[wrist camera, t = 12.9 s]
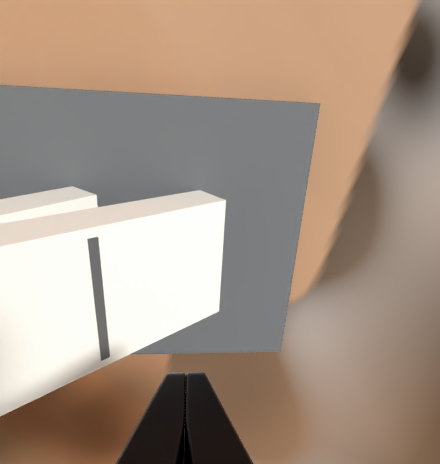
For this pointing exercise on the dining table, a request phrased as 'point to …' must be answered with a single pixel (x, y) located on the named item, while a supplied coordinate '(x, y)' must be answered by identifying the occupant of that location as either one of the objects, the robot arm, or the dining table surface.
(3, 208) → the domino
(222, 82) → the dining table surface
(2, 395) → the domino
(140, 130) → the mat
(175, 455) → the robot arm
